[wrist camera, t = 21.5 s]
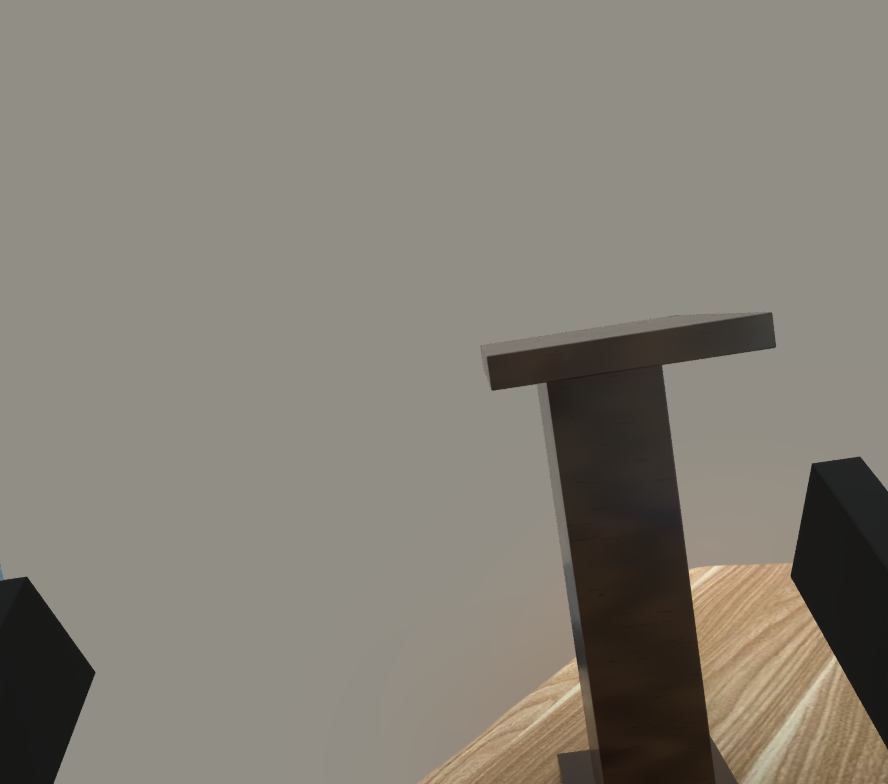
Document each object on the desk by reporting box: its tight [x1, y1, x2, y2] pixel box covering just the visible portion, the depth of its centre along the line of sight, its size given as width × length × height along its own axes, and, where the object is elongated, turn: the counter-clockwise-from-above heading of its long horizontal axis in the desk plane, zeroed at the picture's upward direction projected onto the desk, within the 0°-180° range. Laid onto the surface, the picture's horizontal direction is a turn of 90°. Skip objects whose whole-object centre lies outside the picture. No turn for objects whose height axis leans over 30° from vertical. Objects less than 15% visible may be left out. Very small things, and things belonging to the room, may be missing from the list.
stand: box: [480, 312, 776, 784], centre depth 39 cm, size 12×15×28 cm
